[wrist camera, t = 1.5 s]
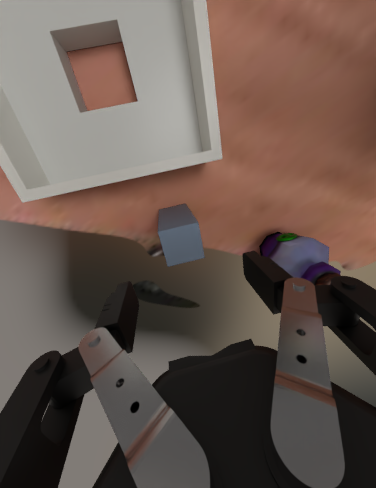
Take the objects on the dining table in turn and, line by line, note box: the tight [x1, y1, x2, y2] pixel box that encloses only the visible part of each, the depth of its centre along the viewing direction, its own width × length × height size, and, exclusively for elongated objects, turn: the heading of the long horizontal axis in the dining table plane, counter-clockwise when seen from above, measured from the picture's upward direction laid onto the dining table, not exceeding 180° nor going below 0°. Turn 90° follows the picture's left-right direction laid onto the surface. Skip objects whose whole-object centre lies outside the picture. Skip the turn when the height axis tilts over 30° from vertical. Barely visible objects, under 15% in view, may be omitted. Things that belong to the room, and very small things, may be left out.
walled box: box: [0, 0, 222, 203], centre depth 16 cm, size 20×20×7 cm
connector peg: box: [158, 204, 204, 267], centre depth 22 cm, size 4×4×10 cm
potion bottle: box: [259, 232, 341, 285], centre depth 26 cm, size 9×9×12 cm
